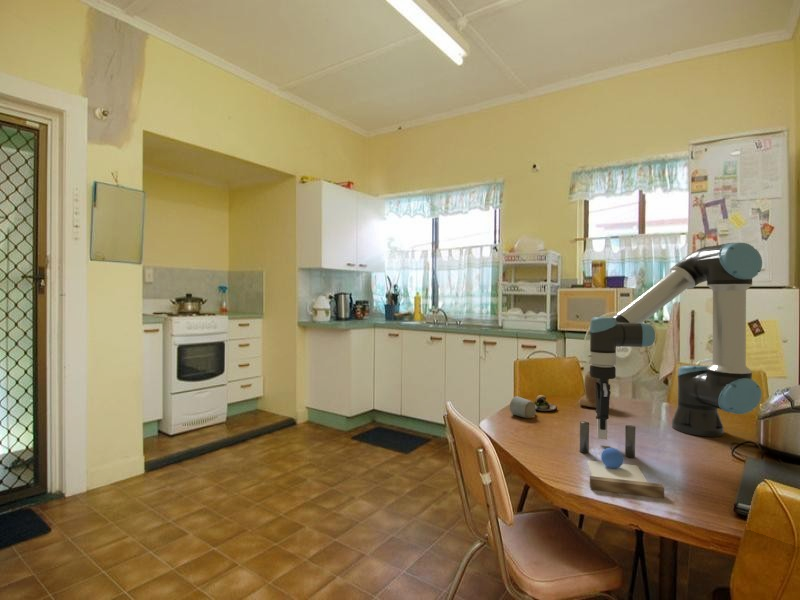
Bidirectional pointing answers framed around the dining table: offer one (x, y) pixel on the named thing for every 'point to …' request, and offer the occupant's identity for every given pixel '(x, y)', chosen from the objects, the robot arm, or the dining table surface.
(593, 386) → the brown boot
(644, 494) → the stopper wall
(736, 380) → the robot arm
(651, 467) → the dining table surface
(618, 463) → the ball
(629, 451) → the right post
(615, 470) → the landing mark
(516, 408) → the ceramic mug
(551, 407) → the plate of salad
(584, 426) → the left post
